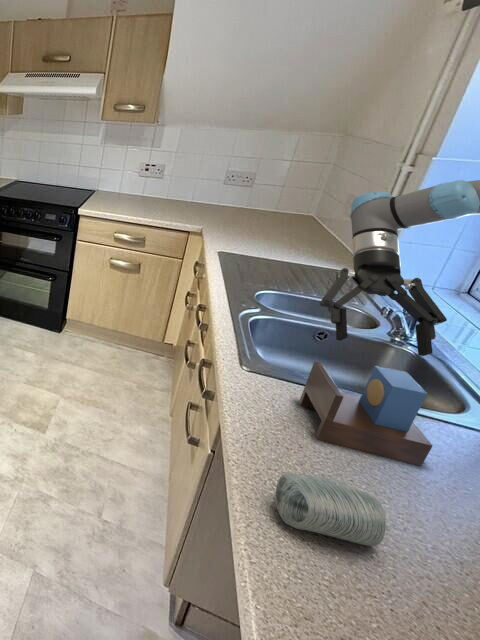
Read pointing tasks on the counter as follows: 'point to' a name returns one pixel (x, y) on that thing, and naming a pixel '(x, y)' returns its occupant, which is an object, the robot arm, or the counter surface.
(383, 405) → the box
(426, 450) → the shelf
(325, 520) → the spool
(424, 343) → the robot arm
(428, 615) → the counter surface
